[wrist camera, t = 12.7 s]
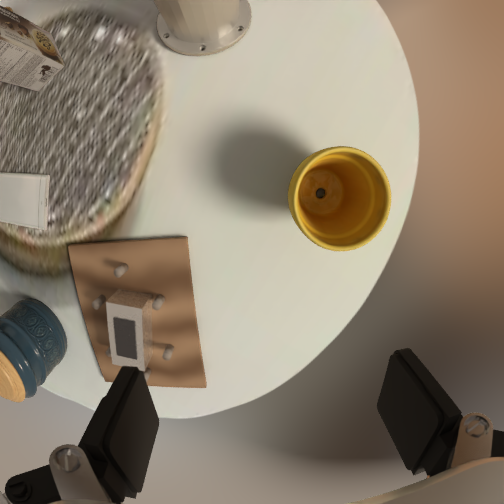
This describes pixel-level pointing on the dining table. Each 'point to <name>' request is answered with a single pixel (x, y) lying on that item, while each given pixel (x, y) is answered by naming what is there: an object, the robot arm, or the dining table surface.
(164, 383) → the wooden peg board
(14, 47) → the coffee box
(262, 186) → the dining table surface
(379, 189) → the plant pot
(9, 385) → the canister
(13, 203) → the hard drive
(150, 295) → the block
